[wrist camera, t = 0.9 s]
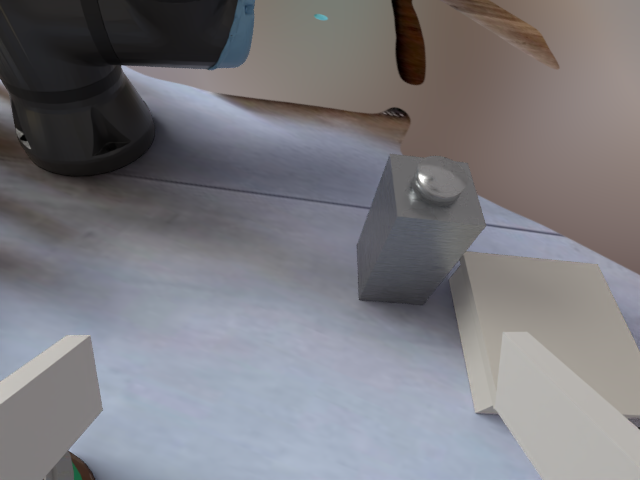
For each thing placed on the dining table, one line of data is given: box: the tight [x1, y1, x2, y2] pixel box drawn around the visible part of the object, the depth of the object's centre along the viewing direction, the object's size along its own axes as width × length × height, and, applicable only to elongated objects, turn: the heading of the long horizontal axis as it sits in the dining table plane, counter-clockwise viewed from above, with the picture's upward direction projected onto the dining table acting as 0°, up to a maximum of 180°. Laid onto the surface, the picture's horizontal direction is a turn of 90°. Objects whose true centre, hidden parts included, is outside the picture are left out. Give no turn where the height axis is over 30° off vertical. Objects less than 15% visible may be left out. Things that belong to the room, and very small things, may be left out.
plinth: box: [449, 251, 640, 419], centre depth 37 cm, size 15×15×5 cm
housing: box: [357, 154, 486, 305], centre depth 35 cm, size 7×7×16 cm
